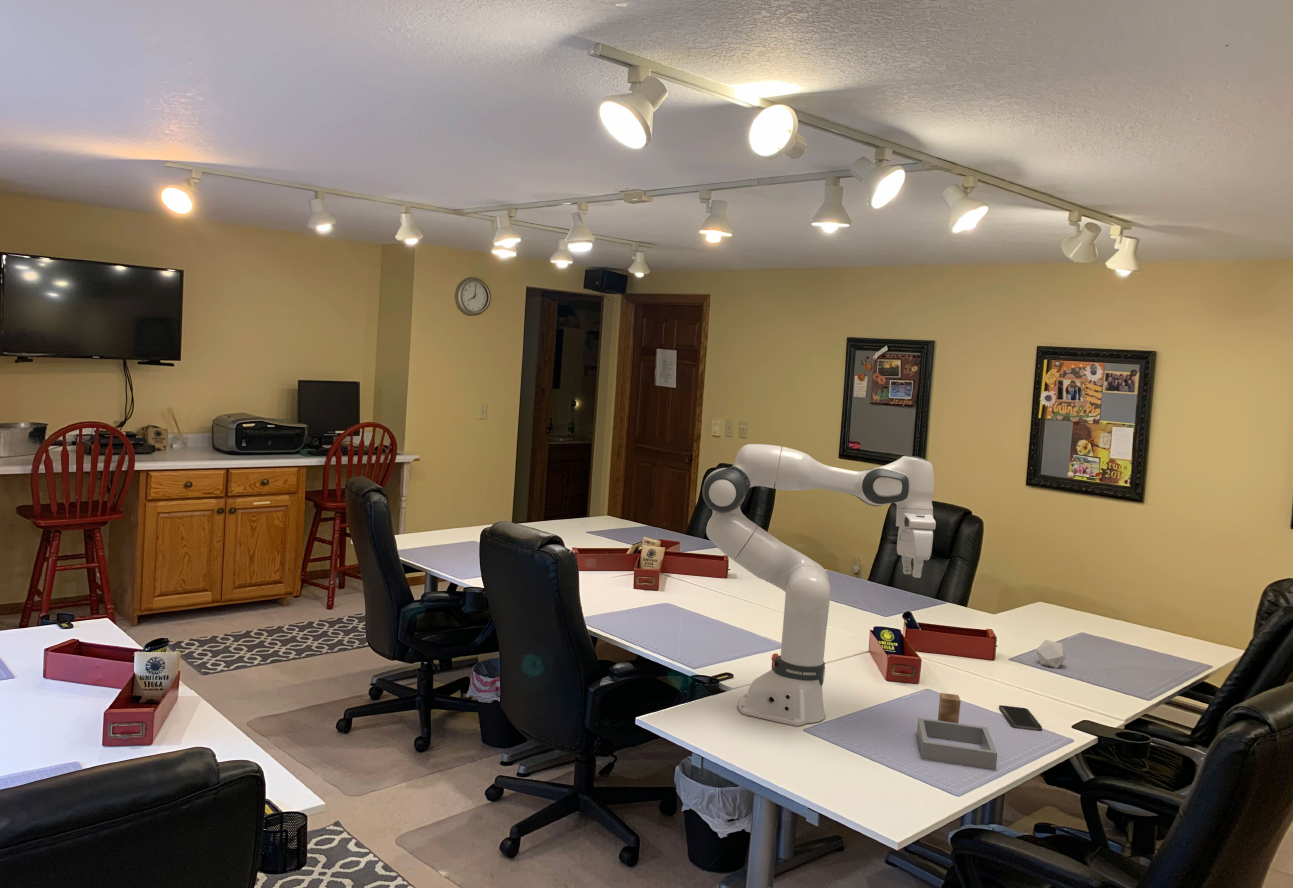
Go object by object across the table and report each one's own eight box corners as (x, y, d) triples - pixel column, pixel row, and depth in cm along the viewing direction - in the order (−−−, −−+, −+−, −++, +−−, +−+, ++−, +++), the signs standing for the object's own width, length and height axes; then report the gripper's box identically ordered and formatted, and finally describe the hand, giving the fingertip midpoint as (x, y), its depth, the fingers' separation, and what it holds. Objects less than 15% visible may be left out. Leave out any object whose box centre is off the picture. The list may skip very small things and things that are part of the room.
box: (921, 758, 213) (923, 742, 213) (916, 732, 229) (918, 717, 229) (995, 770, 210) (997, 753, 210) (985, 742, 226) (986, 727, 226)
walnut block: (939, 728, 234) (942, 698, 233) (937, 722, 238) (940, 692, 237) (957, 731, 233) (960, 700, 232) (955, 724, 237) (958, 694, 236)
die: (1048, 672, 291) (1070, 650, 289) (1027, 652, 296) (1048, 631, 295) (1053, 675, 297) (1075, 654, 296) (1033, 656, 302) (1053, 636, 301)
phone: (1012, 724, 238) (998, 704, 253) (1011, 729, 238) (997, 708, 253) (1043, 728, 237) (1027, 708, 252) (1043, 732, 237) (1027, 712, 252)
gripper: (892, 518, 241) (889, 571, 240) (911, 521, 220) (909, 578, 219) (916, 520, 240) (914, 572, 240) (938, 522, 220) (935, 580, 219)
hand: (911, 575), depth 229 cm, fingers open, 8 cm apart
